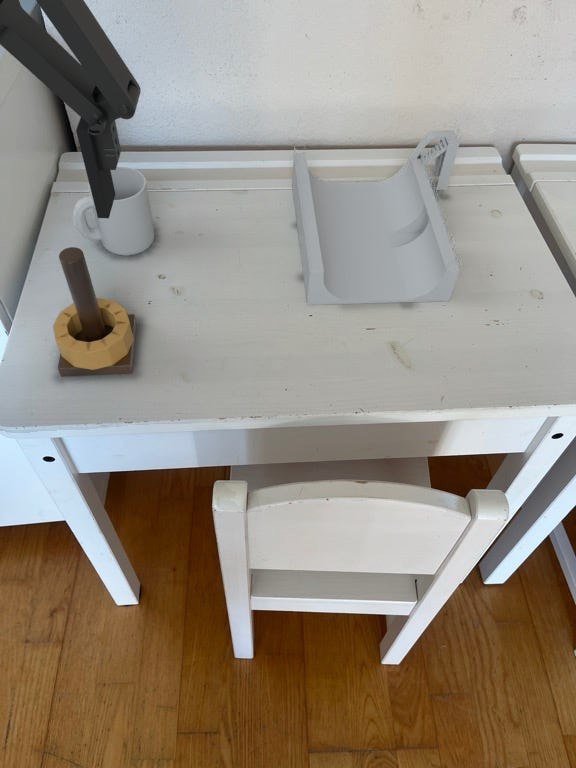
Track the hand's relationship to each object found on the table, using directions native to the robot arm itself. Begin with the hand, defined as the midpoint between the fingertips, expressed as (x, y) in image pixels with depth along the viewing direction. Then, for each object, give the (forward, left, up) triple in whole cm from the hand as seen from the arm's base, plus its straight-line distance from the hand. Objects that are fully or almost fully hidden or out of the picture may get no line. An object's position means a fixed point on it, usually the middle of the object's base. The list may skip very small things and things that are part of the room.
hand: (8, 203), depth 44 cm
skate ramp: (+4, +47, -30) cm, 56 cm away
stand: (-9, +8, -30) cm, 32 cm away
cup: (-22, +22, -30) cm, 43 cm away
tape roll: (-9, +8, -28) cm, 31 cm away
